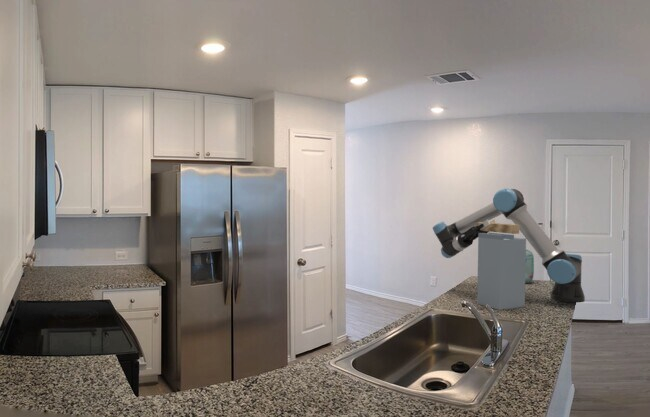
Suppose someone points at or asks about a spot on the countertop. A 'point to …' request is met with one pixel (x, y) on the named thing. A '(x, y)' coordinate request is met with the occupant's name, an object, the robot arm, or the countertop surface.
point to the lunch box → (529, 266)
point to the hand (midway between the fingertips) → (492, 221)
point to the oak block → (501, 228)
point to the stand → (501, 270)
